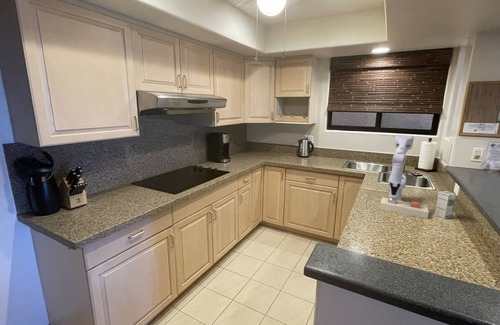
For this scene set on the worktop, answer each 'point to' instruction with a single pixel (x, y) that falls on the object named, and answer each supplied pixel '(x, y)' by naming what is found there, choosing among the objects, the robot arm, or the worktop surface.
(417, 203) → the red button
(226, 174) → the worktop surface
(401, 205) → the control box
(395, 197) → the robot arm
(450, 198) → the syrup box
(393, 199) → the grey button
